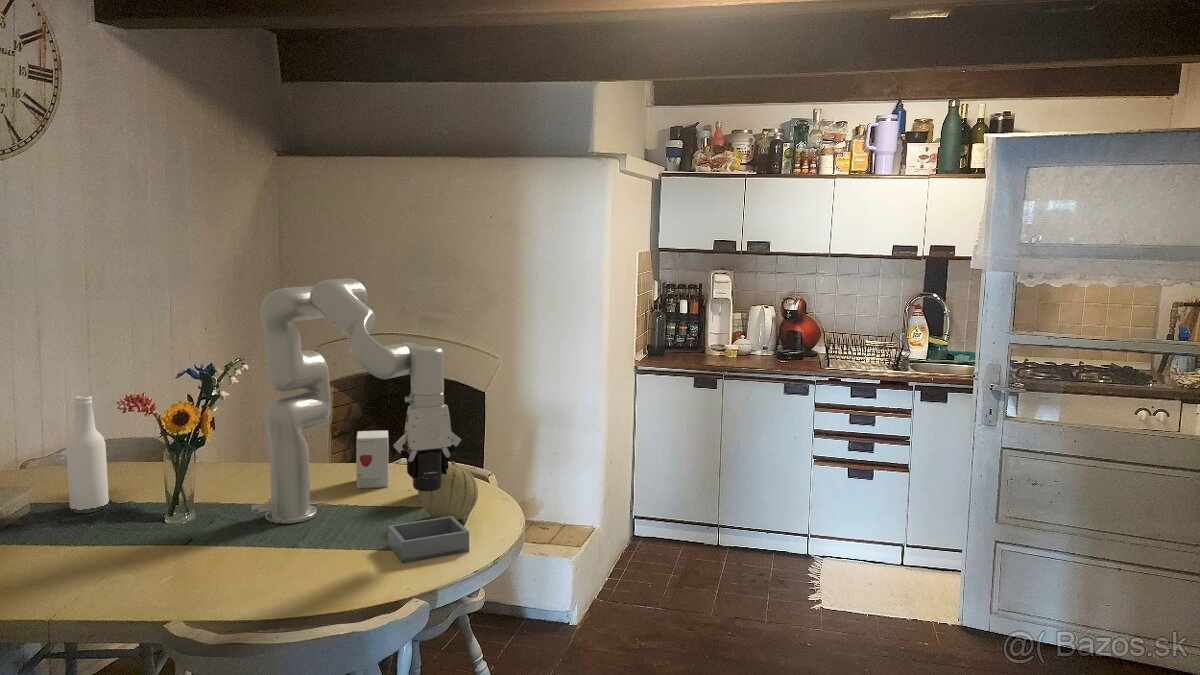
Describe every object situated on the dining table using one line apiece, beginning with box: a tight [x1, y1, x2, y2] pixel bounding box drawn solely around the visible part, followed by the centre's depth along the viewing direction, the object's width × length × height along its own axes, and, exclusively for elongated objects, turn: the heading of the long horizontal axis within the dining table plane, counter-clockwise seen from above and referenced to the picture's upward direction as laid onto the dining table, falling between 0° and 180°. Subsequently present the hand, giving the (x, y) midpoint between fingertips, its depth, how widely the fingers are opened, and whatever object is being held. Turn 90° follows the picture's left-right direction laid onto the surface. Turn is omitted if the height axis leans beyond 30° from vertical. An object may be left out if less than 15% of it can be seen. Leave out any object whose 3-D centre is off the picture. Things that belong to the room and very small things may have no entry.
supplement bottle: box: [412, 449, 443, 491], centre depth 203 cm, size 7×7×12 cm
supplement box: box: [355, 430, 389, 489], centre depth 254 cm, size 9×9×15 cm
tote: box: [387, 516, 470, 564], centre depth 205 cm, size 16×12×5 cm
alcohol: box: [65, 394, 110, 510], centre depth 226 cm, size 9×9×30 cm
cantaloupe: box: [420, 460, 479, 521], centre depth 224 cm, size 15×15×15 cm
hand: (427, 474), depth 203 cm, fingers closed on supplement bottle, 6 cm apart
